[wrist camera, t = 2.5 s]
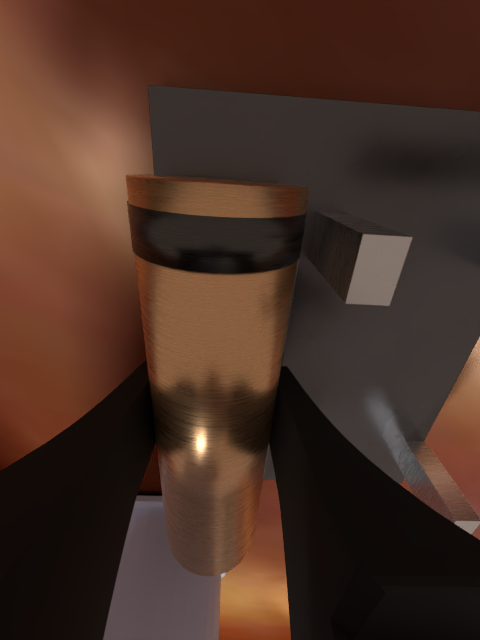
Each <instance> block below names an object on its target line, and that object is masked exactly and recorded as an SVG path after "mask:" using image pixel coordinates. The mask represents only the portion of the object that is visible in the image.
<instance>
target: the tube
mask: <svg viewBox="0 0 480 640" xmlns="http://www.w3.org/2000/svg"><path fill="white" fill-rule="evenodd" d="M126 183H127V192H128V201H127V205H128V214H129V222H130V231H131V240H132V248H133V252H134V253H135V262H136V271H137V279H138V288H139V297H140V305H141V314H142V323H143V331H144V340H145V349H146V358H147V366H148V375H149V384H150V392H151V401H152V410H153V419H154V427H155V436H156V445H157V453H158V462H159V471H160V480H161V488H162V497H163V506H164V514H165V523H166V532H167V540H168V544H169V547H170V550H171V552H172V554H173V556H174V558H175V559H176V560H177V562H178V563H179V564H180V565H181V566H182V567H183V568H185V569H186V570H188V571H189V572H192V573H194V574H197V575H200V576H216V575H220V574H223V573H225V572H228V571H229V570H231V569H233V568H234V567H235V566H236V565H238V564H239V563H240V562H241V560H242V559H243V558H244V557H245V555H246V554H247V552H248V550H249V549H250V546H251V544H252V541H253V537H254V533H255V526H256V520H257V514H258V508H259V501H260V495H261V489H262V483H263V476H264V470H265V464H266V458H267V451H268V445H269V439H270V433H271V426H272V420H273V414H274V408H275V401H276V395H277V389H278V382H279V376H280V370H281V364H282V357H283V351H284V345H285V339H286V332H287V326H288V320H289V314H290V307H291V301H292V295H293V289H294V282H295V276H296V270H297V264H298V260H299V258H300V253H301V247H302V241H303V235H304V228H305V222H306V216H307V211H306V207H307V201H308V195H309V189H310V187H307V186H301V185H293V184H283V183H273V182H261V181H249V180H235V179H221V178H205V177H188V176H167V175H126Z"/></svg>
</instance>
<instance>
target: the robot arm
mask: <svg viewBox="0 0 480 640" xmlns="http://www.w3.org/2000/svg"><path fill="white" fill-rule="evenodd" d="M155 442H156V436H155V427H154V419H153V410H152V401H151V392H150V384H149V375H148V366H147V361H145V362H144V363H142V364H141V365H140V366H139V367H138V368H137V369H136V370H135V371H134V372H133V373H132V374H131V375H130V376H129V377H128V378H127V379H125V380H124V381H123V382H122V383H121V384H120V385H119V386H118V387H117V388H116V389H115V390H113V391H112V392H111V393H110V394H109V395H108V396H107V397H106V398H105V399H103V400H102V401H101V402H100V403H99V404H97V405H96V406H95V407H94V408H93V409H91V410H90V411H89V412H88V413H86V414H85V415H84V416H83V417H81V418H80V419H79V420H78V421H76V422H75V423H74V424H72V425H71V426H70V427H68V428H67V429H65V430H64V431H63V432H61V433H60V434H58V435H57V436H55V437H54V438H53V439H51V440H50V441H48V442H47V443H45V444H43V445H42V446H40V447H39V448H37V449H35V450H34V451H32V452H31V453H29V454H27V455H26V456H24V457H23V458H21V459H19V460H18V461H16V462H15V463H13V464H11V465H10V466H8V467H6V468H5V469H3V470H1V471H0V640H219V615H220V588H221V577H224V576H225V574H226V572H225V573H223V574H220V575H216V576H200V575H197V574H194V573H192V572H189V571H188V570H186V569H185V568H183V567H182V566H181V565H180V564H179V563H178V562H177V560H176V559H175V558H174V556H173V554H172V552H171V550H170V547H169V544H168V540H167V532H166V523H165V514H164V506H163V497H162V496H143V495H137V494H138V491H139V488H140V485H141V482H142V479H143V476H144V473H145V471H146V468H147V465H148V462H149V459H150V456H151V454H152V451H153V448H154V445H155ZM269 445H270V451H271V456H272V462H273V467H274V472H275V478H276V483H277V488H278V494H279V501H280V509H281V519H282V530H283V540H284V552H285V563H286V575H287V588H288V602H289V615H290V630H291V640H480V540H479V539H477V538H476V537H474V536H473V535H471V534H470V533H468V532H467V531H465V530H464V529H462V528H460V527H459V526H457V525H456V524H454V523H453V522H451V521H450V520H448V519H447V518H445V517H444V516H442V515H441V514H439V513H438V512H436V511H435V510H433V509H432V508H431V507H429V506H428V505H426V504H425V503H424V502H422V501H421V500H420V499H418V498H417V497H416V496H414V495H413V494H411V493H410V492H409V491H407V490H406V489H405V488H403V487H402V486H401V485H400V484H398V483H397V482H396V481H394V480H393V479H392V478H391V477H389V476H388V475H387V474H386V473H385V472H383V471H382V470H381V469H380V468H379V467H377V466H376V465H375V464H374V463H373V462H371V461H370V460H369V459H368V458H367V457H366V456H365V455H363V454H362V453H361V452H360V451H359V450H358V449H357V448H356V447H355V446H354V445H353V444H352V443H351V442H350V441H349V440H348V439H346V438H345V437H344V436H343V435H342V434H341V432H340V431H339V430H338V429H337V428H336V427H335V426H334V425H333V424H332V423H331V422H330V421H329V419H328V418H327V417H326V416H325V415H324V414H323V413H322V411H321V410H320V409H319V408H318V407H317V405H316V404H315V403H314V402H313V400H312V399H311V398H310V397H309V395H308V394H307V393H306V391H305V390H304V389H303V387H302V386H301V385H300V383H299V382H298V381H297V379H296V378H295V376H294V375H293V374H292V372H291V371H290V369H289V368H288V367H287V366H281V370H280V376H279V382H278V389H277V395H276V401H275V408H274V414H273V420H272V426H271V433H270V439H269Z"/></svg>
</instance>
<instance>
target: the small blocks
mask: <svg viewBox="0 0 480 640" xmlns="http://www.w3.org/2000/svg"><path fill="white" fill-rule="evenodd" d="M412 238H413V237H411V236H408V235H405V234H403V233H400V232H397V231H395V230H392V229H389V228H386V227H384V226H381V225H378V224H376V223H373V222H370V221H367V220H365V219H362V218H359V217H356V216H354V215H351V214H343V213H327V212H317V217H316V223H315V229H314V234H313V240H312V245H311V251H310V257H309V261H310V262H311V263H312V264H313V265H314V267H315V268H316V269H317V270H318V271H319V273H320V274H321V275H322V276H323V277H324V279H325V280H326V281H327V282H328V283H329V285H330V286H331V287H332V288H333V289H334V291H335V292H336V293H337V294H338V295H339V297H340V298H341V299H342V300H343V301H344V303H345V304H363V305H383V306H390V303H391V300H392V297H393V294H394V291H395V288H396V285H397V282H398V279H399V276H400V273H401V270H402V267H403V264H404V261H405V258H406V255H407V252H408V250H409V247H410V244H411V241H412ZM396 463H397V465H398V466H399V468H400V470H401V472H402V474H403V476H404V477H405V479H406V481H407V483H408V485H409V486H410V488H411V490H412V492H413V494H414V495H415V496H416V497H417V498H418V499H420V500H421V501H422V502H424V503H425V504H426V505H428V506H429V507H431V508H432V509H433V510H435V511H436V512H438V513H439V514H441V515H442V516H444V517H445V518H447V519H448V520H450V521H451V522H453V523H454V524H456V525H457V526H459V527H460V528H462V529H464V530H465V531H467V532H468V533H470V534H472V533H473V531H474V530H475V529H476V528H477V527H478V525H479V524H480V518H479V516H478V515H477V514H476V512H475V511H474V509H473V508H472V506H471V505H470V504H469V502H468V501H467V499H466V498H465V497H464V495H463V494H462V492H461V491H460V489H459V488H458V487H457V485H456V484H455V482H454V481H453V480H452V478H451V477H450V475H449V474H448V472H447V471H446V470H445V468H444V467H443V465H442V464H441V463H440V461H439V460H438V458H437V457H436V455H435V454H434V453H433V451H432V450H431V448H430V447H429V445H428V444H427V443H426V442H425V441H405V443H404V445H403V447H402V449H401V451H400V453H399V455H398V457H397V459H396Z"/></svg>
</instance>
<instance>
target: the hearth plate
mask: <svg viewBox="0 0 480 640" xmlns="http://www.w3.org/2000/svg"><path fill="white" fill-rule="evenodd" d="M148 94H149V108H150V122H151V136H152V150H153V164H154V175H167V176H188V177H205V178H221V179H235V180H249V181H261V182H273V183H283V184H293V185H301V186H307V187H310V189H309V195H308V201H307V207H306V211H307V216H306V222H305V228H304V235H303V241H302V247H301V253H300V258H299V260H298V264H297V270H296V276H295V282H294V289H293V295H292V301H291V307H290V314H289V320H288V326H287V332H286V339H285V345H284V351H283V357H282V364H281V366H287V367H288V368H289V369H290V371H291V372H292V374H293V375H294V376H295V378H296V379H297V381H298V382H299V383H300V385H301V386H302V387H303V389H304V390H305V391H306V393H307V394H308V395H309V397H310V398H311V399H312V400H313V402H314V403H315V404H316V405H317V407H318V408H319V409H320V410H321V411H322V413H323V414H324V415H325V416H326V417H327V418H328V419H329V421H330V422H331V423H332V424H333V425H334V426H335V427H336V428H337V429H338V430H339V431H340V432H341V434H342V435H343V436H344V437H345V438H346V439H348V440H349V441H350V442H351V443H352V444H353V445H354V446H355V447H356V448H357V449H358V450H359V451H360V452H361V453H362V454H363V455H365V456H366V457H367V458H368V459H369V460H370V461H371V462H373V463H374V464H375V465H376V466H377V467H379V468H380V469H381V470H382V471H383V472H385V473H386V474H387V475H388V476H389V477H391V478H392V479H393V480H394V481H396V482H397V483H402V481H403V479H404V476H403V474H402V472H401V470H400V468H399V466H398V465H397V463H396V459H397V457H398V455H399V453H400V451H401V449H402V447H403V445H404V443H405V441H424V440H425V438H426V436H427V434H428V432H429V431H430V429H431V427H432V425H433V423H434V421H435V419H436V417H437V416H438V414H439V412H440V410H441V408H442V406H443V404H444V402H445V401H446V399H447V397H448V395H449V393H450V391H451V389H452V387H453V385H454V384H455V382H456V380H457V378H458V376H459V374H460V372H461V370H462V369H463V367H464V365H465V363H466V361H467V359H468V357H469V355H470V354H471V352H472V350H473V348H474V346H475V344H476V342H477V340H478V339H479V337H480V112H479V111H466V110H454V109H441V108H429V107H416V106H404V105H391V104H379V103H366V102H354V101H341V100H329V99H316V98H304V97H291V96H279V95H266V94H254V93H241V92H229V91H217V90H204V89H192V88H179V87H167V86H154V85H148ZM317 212H327V213H343V214H351V215H354V216H356V217H359V218H362V219H365V220H367V221H370V222H373V223H376V224H378V225H381V226H384V227H386V228H389V229H392V230H395V231H397V232H400V233H403V234H405V235H408V236H411V237H413V238H412V241H411V244H410V247H409V250H408V252H407V255H406V258H405V261H404V264H403V267H402V270H401V273H400V276H399V279H398V282H397V285H396V288H395V291H394V294H393V297H392V300H391V303H390V306H383V305H363V304H345V303H344V301H343V300H342V299H341V298H340V297H339V295H338V294H337V293H336V292H335V291H334V289H333V288H332V287H331V286H330V285H329V283H328V282H327V281H326V280H325V279H324V277H323V276H322V275H321V274H320V273H319V271H318V270H317V269H316V268H315V267H314V265H313V264H312V263H311V262H310V261H309V257H310V251H311V245H312V240H313V234H314V229H315V223H316V217H317ZM263 479H266V480H276V478H275V472H274V467H273V462H272V456H271V451H270V445H268V451H267V458H266V464H265V470H264V476H263Z"/></svg>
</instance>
